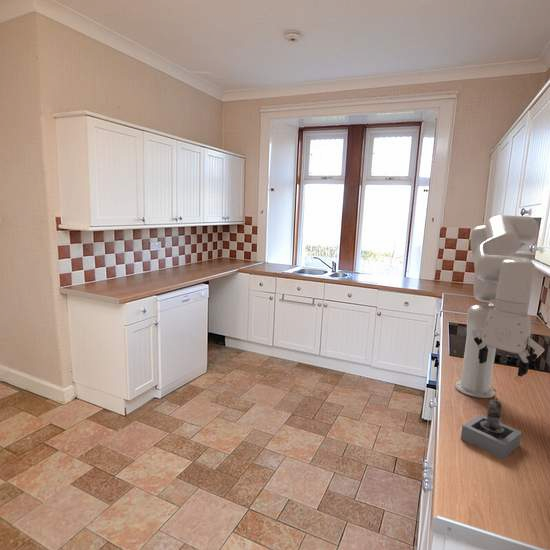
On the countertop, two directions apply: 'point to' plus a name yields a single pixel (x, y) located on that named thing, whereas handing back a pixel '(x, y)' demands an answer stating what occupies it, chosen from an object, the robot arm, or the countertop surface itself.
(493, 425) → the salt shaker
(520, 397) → the countertop surface
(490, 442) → the holder
